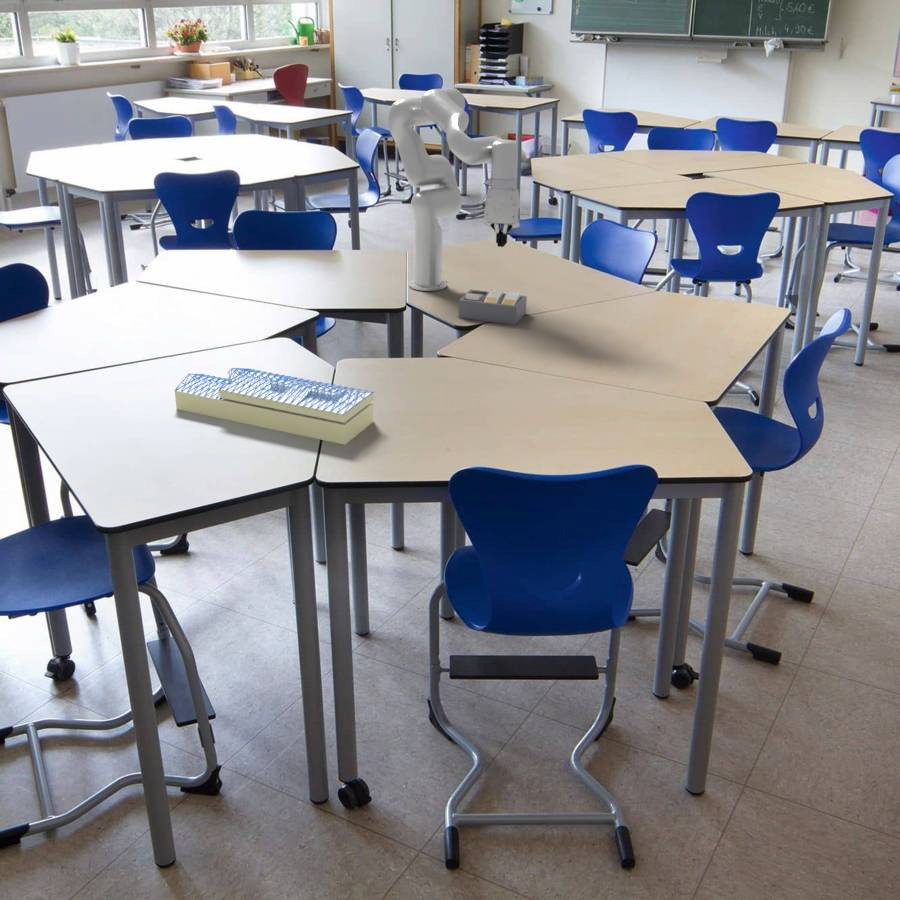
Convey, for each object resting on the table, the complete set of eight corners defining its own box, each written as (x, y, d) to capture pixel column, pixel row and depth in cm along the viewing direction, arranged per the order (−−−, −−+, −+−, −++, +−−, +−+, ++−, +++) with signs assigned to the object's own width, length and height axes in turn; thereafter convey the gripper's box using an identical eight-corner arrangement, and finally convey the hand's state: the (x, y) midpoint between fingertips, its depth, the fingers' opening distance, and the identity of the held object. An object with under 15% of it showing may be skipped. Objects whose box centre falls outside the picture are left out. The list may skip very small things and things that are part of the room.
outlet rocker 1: (473, 298, 305) (473, 293, 304) (485, 300, 304) (486, 294, 303) (465, 299, 297) (466, 293, 297) (478, 300, 296) (478, 294, 296)
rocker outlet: (507, 296, 301) (507, 291, 300) (520, 297, 300) (520, 292, 299) (500, 309, 295) (500, 304, 294) (513, 311, 294) (513, 306, 293)
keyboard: (374, 422, 228) (374, 380, 223) (343, 447, 215) (342, 403, 211) (212, 389, 243) (209, 350, 239) (175, 411, 231) (170, 370, 226)
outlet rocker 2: (490, 294, 302) (490, 289, 301) (502, 295, 301) (502, 290, 300) (483, 307, 297) (482, 302, 296) (495, 309, 296) (495, 304, 295)
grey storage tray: (470, 306, 308) (470, 289, 306) (525, 313, 304) (526, 296, 301) (458, 317, 298) (459, 300, 296) (515, 324, 293) (516, 307, 291)
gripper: (475, 184, 288) (474, 246, 295) (525, 187, 283) (522, 250, 291) (482, 180, 294) (481, 241, 302) (531, 183, 290) (528, 245, 298)
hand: (501, 245), depth 297 cm, fingers closed
